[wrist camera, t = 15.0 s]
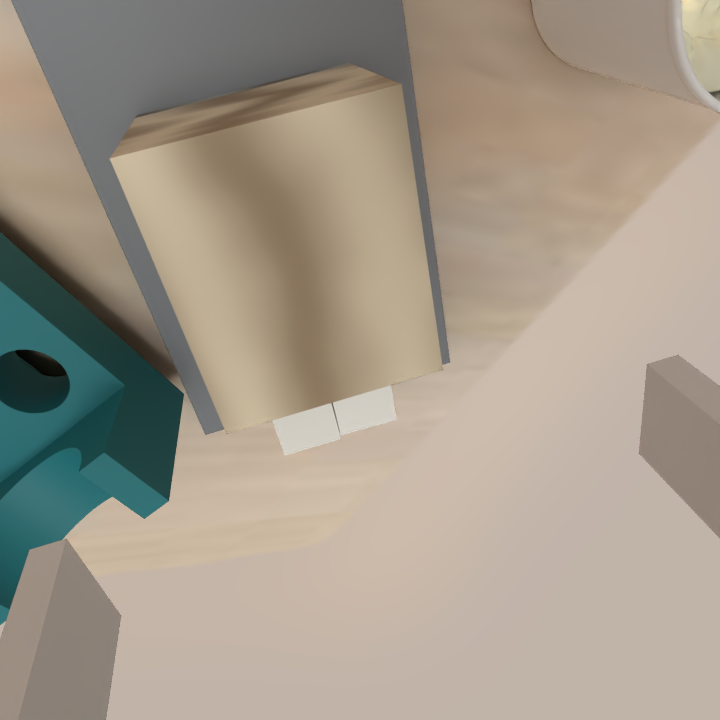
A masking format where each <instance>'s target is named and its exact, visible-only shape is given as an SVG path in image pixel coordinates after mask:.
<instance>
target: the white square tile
mask: <svg viewBox="0 0 720 720" xmlns="http://www.w3.org/2000/svg"><path fill="white" fill-rule="evenodd" d="M272 422H273V424H274V427H275V430H276V433H277V436H278V439H279V441H280V444H281V447H282V450H283V453H284V455H289V454H292V453H296V452H299V451H302V450H306V449H309V448H312V447H316V446H319V445H323V444H326V443H329V442H333V441H336V440H339V439H341V436H340V432H339V429H338V425H337V422H336V418H335V415H334V411H333V407H332V404H331V403H329V404H326V405H323V406H319V407H316V408H313V409H309V410H306V411H303V412H299V413H296V414H293V415H289V416H286V417H283V418H279V419H276V420H272Z"/></svg>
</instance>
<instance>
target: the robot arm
mask: <svg viewBox="0 0 720 720" xmlns="http://www.w3.org/2000/svg"><path fill="white" fill-rule="evenodd" d="M639 454H640V455H641V456H642V457H643V458H644V459H645V460H646V462H647V463H648V464H649V465H650V466H651V467H652V468H653V469H654V470H655V471H656V472H657V473H658V474H659V475H660V476H661V477H662V478H663V479H664V480H665V481H666V482H667V484H668V485H669V486H670V487H671V488H672V489H673V490H674V491H675V492H676V493H677V494H678V495H679V496H680V497H681V498H682V499H683V500H684V501H685V502H686V503H687V504H688V506H690V507H691V509H692V510H693V511H694V512H695V513H696V514H697V515H698V516H699V517H700V518H701V519H702V520H703V521H704V522H705V523H706V524H707V525H708V526H709V528H711V530H712V531H713V532H714V533H715V534H716V535H717V536H718V537H719V538H720V386H719V385H717V384H716V383H715V382H714V381H712V380H711V379H710V378H708V377H707V376H706V375H704V374H703V373H702V372H700V371H699V370H698V369H696V368H695V367H694V366H692V365H691V364H690V363H688V362H687V361H686V360H684V359H683V358H682V357H680V356H679V355H676V356H673V357H669V358H666V359H663V360H660V361H656V362H653V363H649V364H647V370H646V381H645V393H644V404H643V414H642V425H641V436H640V447H639ZM120 620H121V615H120V613H119V612H118V611H117V609H116V608H115V606H114V605H113V603H112V602H111V601H110V599H109V598H108V597H107V595H106V594H105V592H104V591H103V589H102V588H101V587H100V585H99V584H98V582H97V581H96V580H95V578H94V577H93V575H92V574H91V572H90V571H89V570H88V568H87V567H86V565H85V564H84V563H83V561H82V560H81V558H80V557H79V556H78V554H77V553H76V551H75V550H74V549H73V547H72V546H71V544H70V543H69V541H68V540H67V539H64V540H60V541H57V542H54V543H50V544H47V545H44V546H40V547H37V548H34V549H30V550H29V553H28V556H27V559H26V562H25V565H24V568H23V571H22V574H21V577H20V580H19V583H18V586H17V589H16V592H15V595H14V598H13V601H12V604H11V607H10V611H9V614H8V617H7V620H6V623H5V626H4V629H3V632H2V636H1V638H0V720H106V716H107V709H108V702H109V696H110V689H111V682H112V675H113V668H114V661H115V654H116V647H117V641H118V634H119V627H120Z"/></svg>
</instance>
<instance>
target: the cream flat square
mask: <svg viewBox="0 0 720 720" xmlns="http://www.w3.org/2000/svg"><path fill="white" fill-rule="evenodd" d="M333 406H334V410H335V415H336V419H337V423H338V427H339V431H340V435H344V434H348V433H352V432H355V431H359V430H363V429H366V428H370V427H374V426H377V425H381V424H385V423H388V422H392V421H396V420H397V418H396V412H395V405H394V399H393V393H392V387H391V385H390V386H386V387H383V388H380V389H376V390H373V391H370V392H366V393H363V394H360V395H356V396H353V397H350V398H346V399H343V400H340V401H336V402H333Z"/></svg>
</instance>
